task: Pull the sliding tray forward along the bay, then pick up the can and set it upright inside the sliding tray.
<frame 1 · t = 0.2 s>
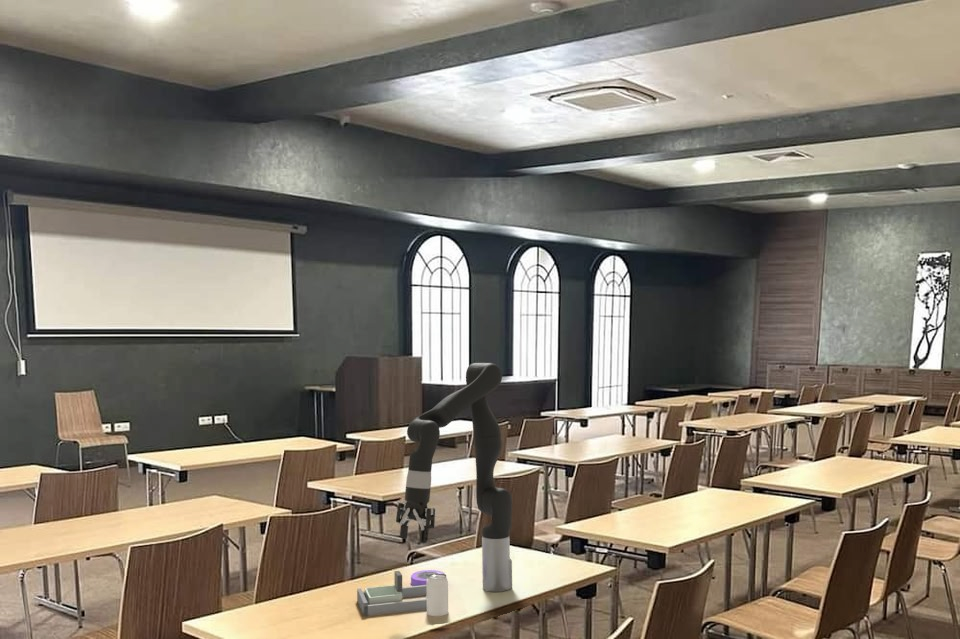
hand: (413, 540, 230), 22 cm above the table, tool pointing down, fingers open, 8 cm apart
masking tape: (428, 587, 258), on the table
sliding tray: (383, 590, 235), point 6 cm above the table, slide at 10.0 cm
can: (437, 617, 228), on the table
bay: (397, 608, 236), on the table
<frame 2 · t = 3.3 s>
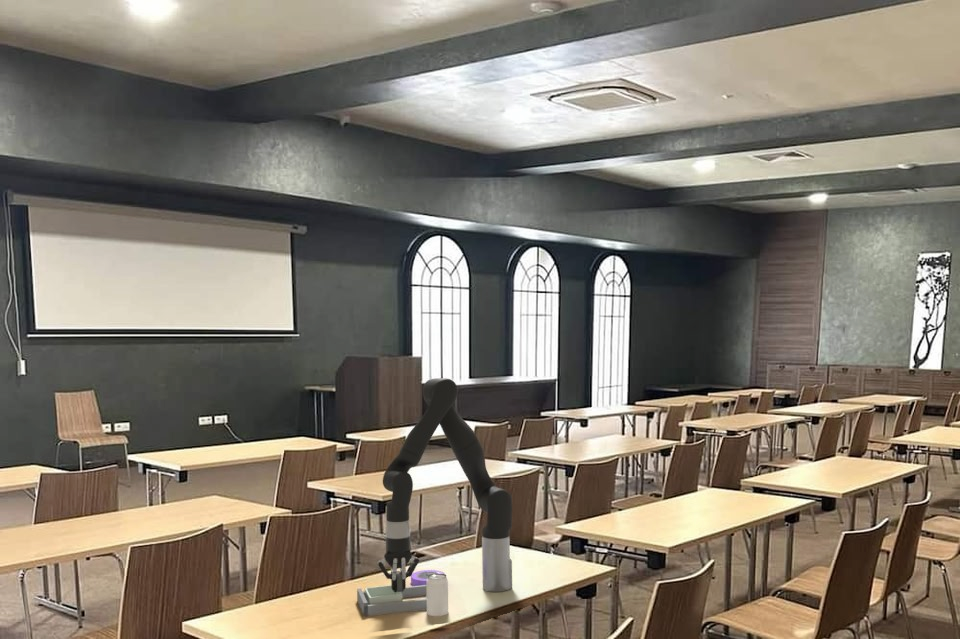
hand: (398, 590, 236), 5 cm above the table, tool pointing down, fingers closed
sliding tray: (384, 590, 235), point 6 cm above the table, slide at 10.0 cm, touching gripper
everything else where it was.
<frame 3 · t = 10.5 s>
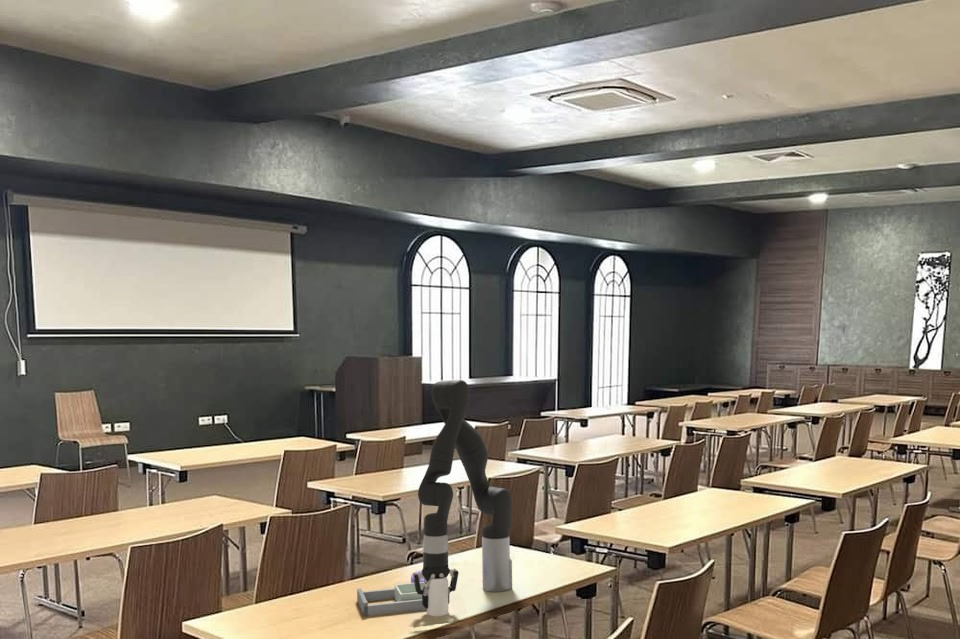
hand: (435, 606, 228), 3 cm above the table, tool pointing down, fingers closed on can, 5 cm apart
sliding tray: (414, 587, 238), point 6 cm above the table, slide at 0.5 cm
can: (437, 617, 228), on the table, touching gripper
everything else where it was.
when the fingers open (6 cm above the table, at t = 16.0 s): can drops 1 cm, resting on sliding tray.
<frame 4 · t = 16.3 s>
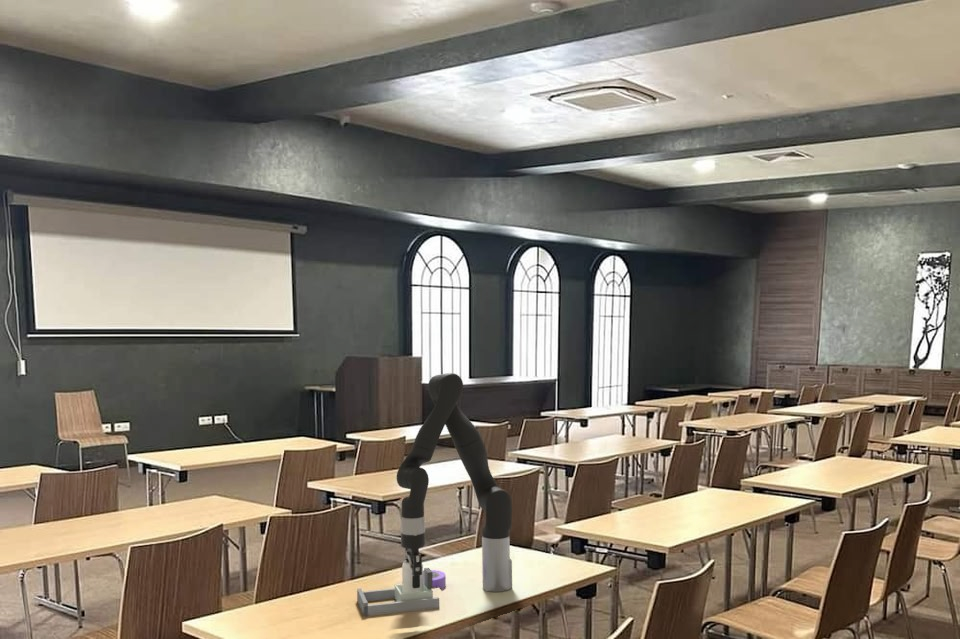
hand: (413, 583, 237), 7 cm above the table, tool pointing down, fingers open, 7 cm apart
sliding tray: (414, 587, 238), point 6 cm above the table, slide at 0.5 cm, touching can
can: (412, 598, 239), point 2 cm above the table, touching sliding tray
everything else where it was.
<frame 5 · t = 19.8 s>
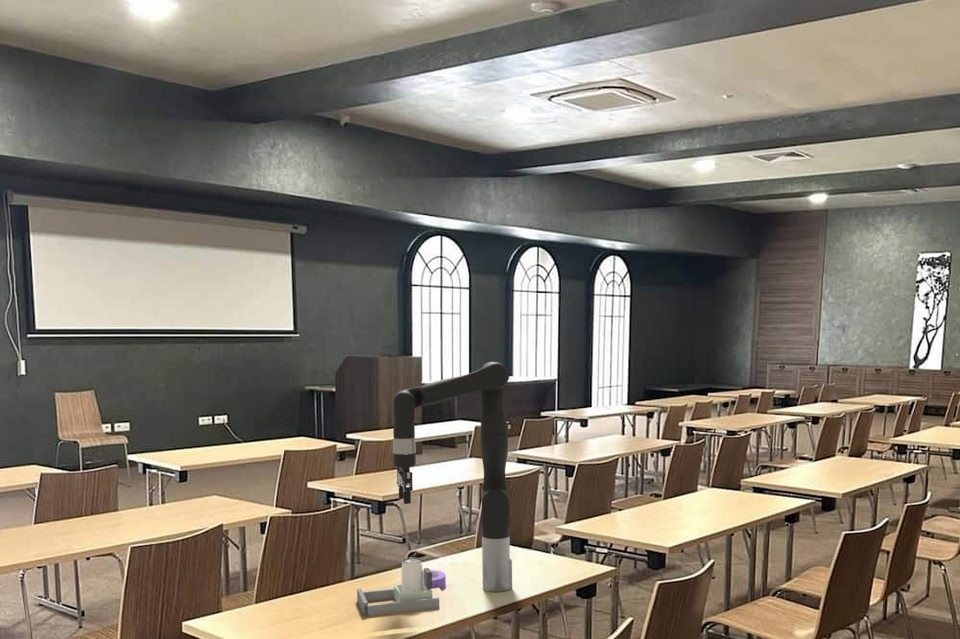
hand: (404, 501, 251), 30 cm above the table, tool pointing down, fingers open, 8 cm apart
nothing on the table moved.
at the end: sliding tray slide at 0.7 cm; can 1.2 cm off-centre on the sliding tray, point 0.6 cm above the sliding tray's base; can tilted 0° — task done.
